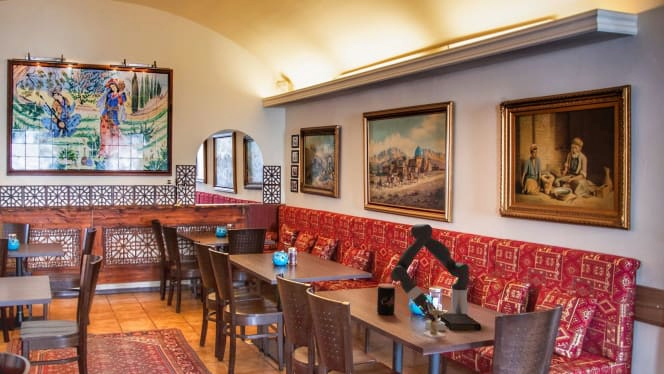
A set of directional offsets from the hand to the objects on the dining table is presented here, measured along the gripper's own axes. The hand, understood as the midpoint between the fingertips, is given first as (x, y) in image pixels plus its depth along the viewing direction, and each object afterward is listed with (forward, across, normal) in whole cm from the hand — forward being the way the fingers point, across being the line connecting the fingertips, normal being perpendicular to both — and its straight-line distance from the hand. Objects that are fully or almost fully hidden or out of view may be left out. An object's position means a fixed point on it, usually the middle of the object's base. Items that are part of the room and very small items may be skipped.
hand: (436, 319), depth 377 cm
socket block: (+3, +14, +10) cm, 17 cm away
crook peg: (+6, 0, +6) cm, 8 cm away
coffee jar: (-23, +35, +36) cm, 56 cm away
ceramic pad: (+5, 0, +7) cm, 9 cm away
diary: (+10, +29, +3) cm, 31 cm away
